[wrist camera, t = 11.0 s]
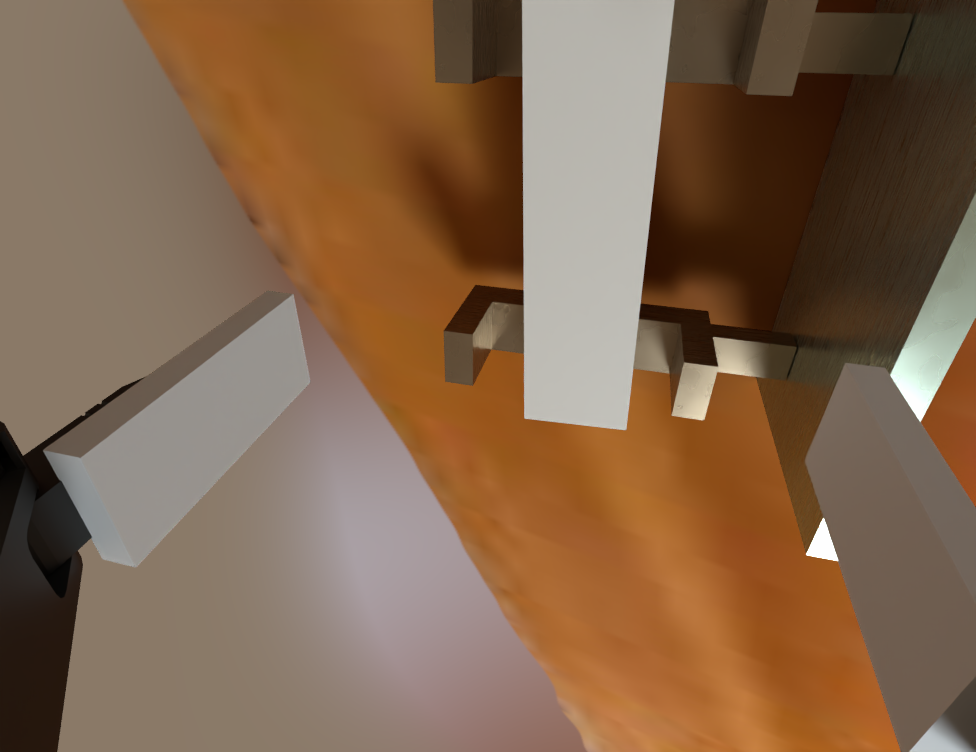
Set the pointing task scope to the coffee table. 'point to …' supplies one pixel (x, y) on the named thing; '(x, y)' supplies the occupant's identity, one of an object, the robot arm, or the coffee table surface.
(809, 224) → the cup bracket
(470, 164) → the coffee table surface
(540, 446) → the coffee table surface
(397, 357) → the coffee table surface
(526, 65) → the rail
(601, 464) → the coffee table surface
